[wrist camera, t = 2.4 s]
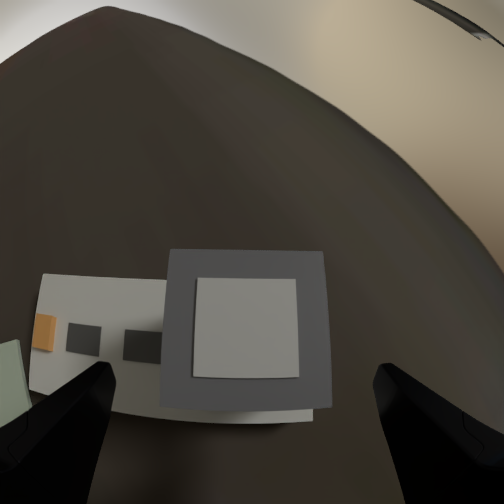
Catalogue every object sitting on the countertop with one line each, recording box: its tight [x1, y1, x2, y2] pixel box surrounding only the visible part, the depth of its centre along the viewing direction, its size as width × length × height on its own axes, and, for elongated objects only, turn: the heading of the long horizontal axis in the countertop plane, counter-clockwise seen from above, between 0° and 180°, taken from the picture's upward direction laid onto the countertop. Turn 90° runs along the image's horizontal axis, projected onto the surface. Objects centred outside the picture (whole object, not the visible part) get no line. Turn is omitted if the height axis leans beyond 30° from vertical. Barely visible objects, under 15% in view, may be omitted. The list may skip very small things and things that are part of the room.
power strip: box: [29, 274, 313, 424], centre depth 16 cm, size 18×8×3 cm, turn 90°
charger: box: [160, 249, 332, 412], centre depth 13 cm, size 5×5×9 cm
